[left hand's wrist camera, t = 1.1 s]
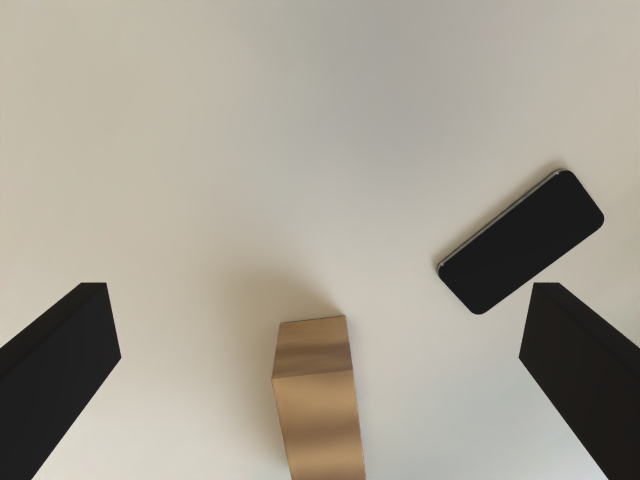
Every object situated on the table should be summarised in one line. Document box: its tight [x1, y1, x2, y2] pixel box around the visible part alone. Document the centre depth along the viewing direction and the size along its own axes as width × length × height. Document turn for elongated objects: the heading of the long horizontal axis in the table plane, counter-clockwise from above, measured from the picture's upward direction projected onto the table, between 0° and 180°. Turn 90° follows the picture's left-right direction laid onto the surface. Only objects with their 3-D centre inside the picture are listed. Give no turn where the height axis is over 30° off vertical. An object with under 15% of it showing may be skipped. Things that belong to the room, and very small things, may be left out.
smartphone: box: [437, 169, 604, 314], centre depth 39 cm, size 7×1×15 cm
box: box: [271, 316, 366, 480], centre depth 42 cm, size 22×7×9 cm, turn 7°
